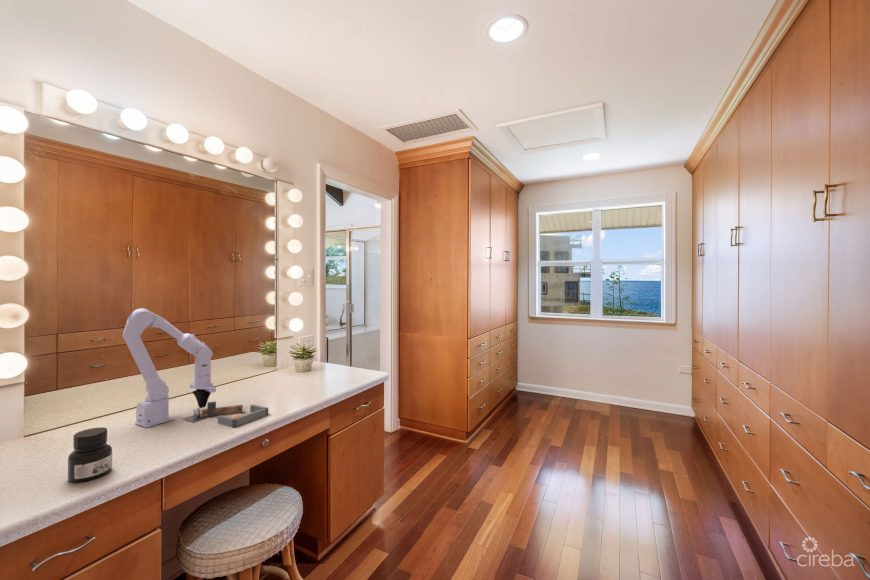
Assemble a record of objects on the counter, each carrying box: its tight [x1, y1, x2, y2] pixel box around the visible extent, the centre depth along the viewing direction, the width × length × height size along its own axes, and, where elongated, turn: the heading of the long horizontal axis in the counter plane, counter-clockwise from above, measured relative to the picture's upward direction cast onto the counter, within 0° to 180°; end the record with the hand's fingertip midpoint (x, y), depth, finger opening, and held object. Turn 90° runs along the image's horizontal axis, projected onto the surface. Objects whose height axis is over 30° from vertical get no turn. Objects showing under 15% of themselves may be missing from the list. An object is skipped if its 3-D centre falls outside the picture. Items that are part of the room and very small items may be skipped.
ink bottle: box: [67, 426, 113, 483], centre depth 100 cm, size 10×9×12 cm
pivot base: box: [181, 407, 212, 423], centre depth 142 cm, size 7×7×4 cm
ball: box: [230, 414, 242, 419], centre depth 137 cm, size 4×4×4 cm
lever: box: [201, 401, 244, 417], centre depth 146 cm, size 14×4×5 cm, turn 119°
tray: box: [217, 404, 269, 429], centre depth 142 cm, size 15×9×3 cm, turn 155°
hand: (202, 407), depth 149 cm, fingers closed
